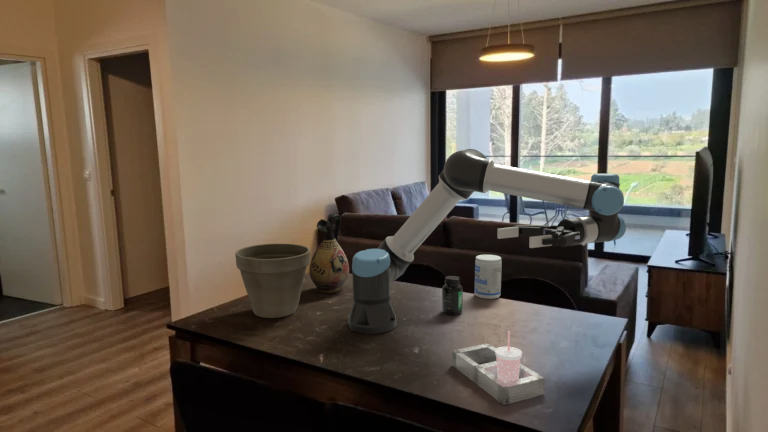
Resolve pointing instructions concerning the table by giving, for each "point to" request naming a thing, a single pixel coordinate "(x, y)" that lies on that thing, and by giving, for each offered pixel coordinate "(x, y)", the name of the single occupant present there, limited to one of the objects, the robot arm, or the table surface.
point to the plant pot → (273, 277)
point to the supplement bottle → (452, 296)
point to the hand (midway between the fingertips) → (513, 237)
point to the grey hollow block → (487, 375)
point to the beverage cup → (508, 362)
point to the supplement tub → (488, 276)
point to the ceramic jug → (329, 259)
